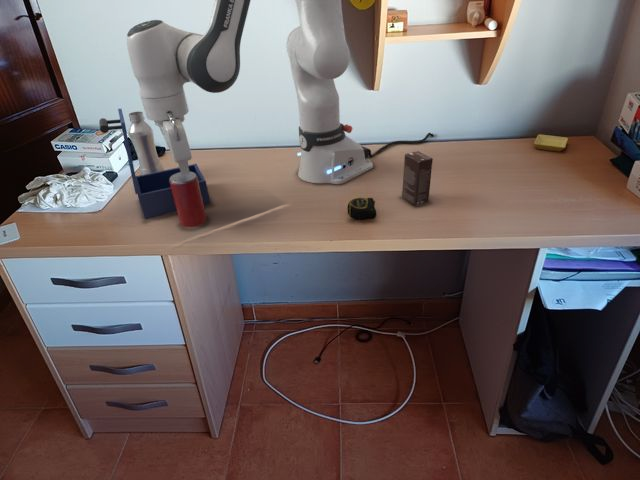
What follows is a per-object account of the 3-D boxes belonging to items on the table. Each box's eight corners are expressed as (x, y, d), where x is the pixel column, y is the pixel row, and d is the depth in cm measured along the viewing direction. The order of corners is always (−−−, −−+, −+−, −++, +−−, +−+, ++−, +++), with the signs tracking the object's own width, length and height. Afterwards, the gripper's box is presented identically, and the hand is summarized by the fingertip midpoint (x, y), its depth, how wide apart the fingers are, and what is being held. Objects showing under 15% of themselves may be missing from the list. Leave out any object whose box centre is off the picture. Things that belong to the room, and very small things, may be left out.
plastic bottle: (159, 185, 130) (140, 117, 119) (138, 184, 131) (118, 117, 120) (169, 175, 135) (152, 109, 124) (149, 174, 136) (131, 109, 126)
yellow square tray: (563, 154, 133) (565, 147, 132) (532, 149, 137) (533, 143, 136) (566, 144, 140) (568, 137, 138) (536, 140, 143) (538, 134, 142)
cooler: (201, 187, 127) (196, 163, 123) (211, 205, 117) (205, 180, 113) (141, 201, 122) (133, 176, 118) (145, 221, 112) (137, 195, 108)
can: (201, 213, 114) (191, 168, 107) (210, 223, 110) (200, 177, 103) (177, 221, 111) (164, 176, 104) (185, 232, 107) (173, 185, 100)
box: (429, 202, 113) (433, 158, 106) (414, 207, 111) (418, 162, 105) (415, 193, 117) (418, 150, 111) (401, 197, 116) (403, 153, 109)
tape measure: (376, 223, 106) (376, 209, 104) (347, 224, 106) (347, 210, 104) (374, 209, 111) (375, 195, 109) (347, 209, 112) (347, 196, 110)
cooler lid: (121, 108, 109) (97, 110, 107) (124, 122, 99) (98, 125, 97) (134, 174, 118) (112, 177, 116) (139, 193, 108) (115, 197, 106)
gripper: (189, 116, 88) (204, 180, 95) (173, 93, 104) (188, 149, 111) (156, 123, 86) (175, 187, 93) (145, 98, 102) (162, 154, 109)
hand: (181, 166), depth 102 cm, fingers open, 8 cm apart
